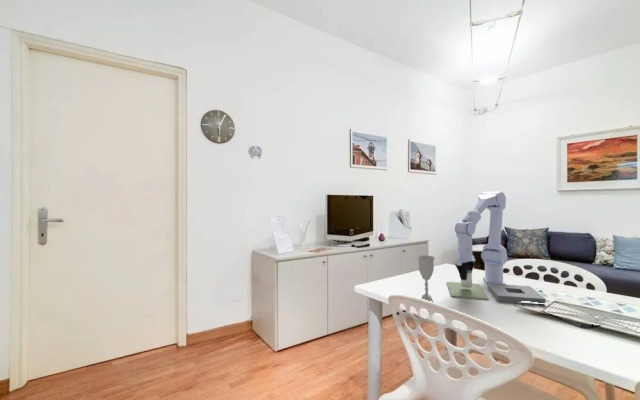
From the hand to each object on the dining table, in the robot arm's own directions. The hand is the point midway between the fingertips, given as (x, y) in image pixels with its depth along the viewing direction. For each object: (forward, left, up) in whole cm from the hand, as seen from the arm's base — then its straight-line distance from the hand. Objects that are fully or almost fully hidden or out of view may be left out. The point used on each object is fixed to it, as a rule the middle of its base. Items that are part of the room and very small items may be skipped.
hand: (465, 278), depth 129 cm
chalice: (+17, -17, -6) cm, 25 cm away
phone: (+21, +29, -6) cm, 36 cm away
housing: (+3, +18, -6) cm, 19 cm away
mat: (0, 0, -6) cm, 6 cm away
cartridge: (0, 0, -3) cm, 3 cm away
